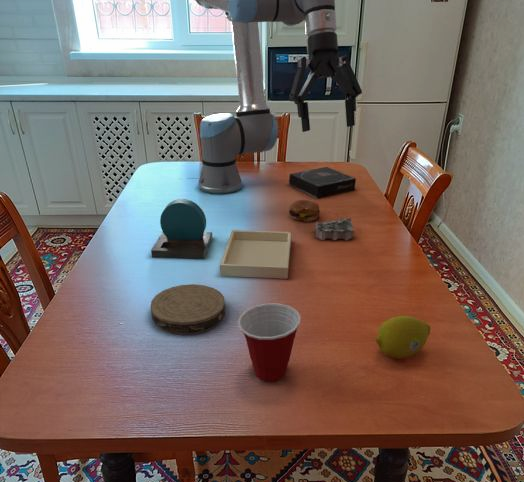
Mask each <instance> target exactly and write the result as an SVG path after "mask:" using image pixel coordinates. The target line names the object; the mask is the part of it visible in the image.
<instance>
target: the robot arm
mask: <svg viewBox="0 0 524 482" xmlns="http://www.w3.org/2000/svg"><path fill="white" fill-rule="evenodd" d="M194 1H195V2H196V3H197V5H199V6H201V7H202V8H205V9H208V10H213V9H214V10H220V11H223V12H224V13H225V19H227V20H228V21H229V22H230V23H231V25H230V26H231V33H232V44H233V53H234V62H235V73H236V82H237V92H238V102H239V107H238V108H237V110H236V112H235V115H236V116H235V115H234V113H229V112H224V113H215V114H211V115H207V116H206V117H204V118H203V119H202V120H201V121H200V125H199V137H200V147H201V161H202V168H201V171H200V175H199V178H198V189H199V190H200V191H202V192H204V193H208V194H214V195H221V194H223V195H224V194H225V195H226V194H230V193H231V194H232V193H235V192H237V191H239V190H241V189H242V187H243V183H242V182H243V180H242V178H241V174H240V172H239V169H238V166H237V156H238V155H239V156H240V155H246V154H247V155H248V154H255V153H261V154H262V153H263V152H268V151H271V150H272V149H273V148H274V147H275V145H276V143H277V140H278V136H279V124H278V120H277V117H276V116H275V115H274V114H272V113H271V107H269V106H268V104H266V100H265V99H266V98H265V85H264V77H263V76H264V75H263V64H262V63H263V62H262V53H261V52H262V51H261V41H260V28H259V23H269V22H270V23H280V22H281V23H282V24H284V25H286V26H288V27H293V26H296V25H299V24H301V23H302V22H304V27H305V29H304V30H305V36H306V37H307V38H306V51H307V52H306V53H307V56H308V58H306V57H305V56H303V57H301V58H298V59H297V61H296V63H297V64H296V73H295V76H294V81H293V84H292V86H291V90H290V94H289V97H288V100H289V102H293V103H294V105H296V107H297V117H298V118H300V120H301V121H300V122H301V131H302V133H305V132H308V131H311V124H310V113H309V112H310V111H309V102H308V101H306V98H307V97H308V95H309V93H310V92H311V89H312V87H313V86H314V84H315V82H316V80H317V79H322V78H324V79H328V78H330V80H333V81H334V82H335V83H336V85H337V87H339V88H340V90H341V92H342V93H343V94H344V95H345V97H346V98H347V99H345V100H344V106H345V119H346V120H345V121H346V128H347V127H349V128H350V127H354V126H356V121H355V120H356V119H355V118H356V117H355V112H356V111H357V100H356V98H357V97H358V96H360V95H361V94H363V90H362V87H361V86H360V83H359V81H358V79H357V77H356V75H355V72H354V70H353V68H352V65H351V62H350V56H349V55H348V54H345V55H343V56H340V57H339V55H338V49H339V41H338V34H337V32H336V31H337V17H336V3H335V2H336V0H194ZM339 67H340V68H339ZM308 68H309V69H310V72H309V74H308V76H307V79H306V81H305V82H304V78H305V75H306V71H307V69H308ZM342 73H343V74H342ZM303 82H304V85H303ZM302 85H303V86H302Z"/></svg>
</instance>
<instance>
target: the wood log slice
mask: <svg viewBox="0 0 524 482" xmlns="http://www.w3.org/2000/svg"><path fill="white" fill-rule="evenodd" d="M150 302H151V303H150V314H151V320H152V322H153V324H154V325H155V327H157V328H158V329H159V330H160V331H163V332H165V333H168V334H171V335H180V336H187V335H189V336H190V335H196V334H197V335H198V334H200V333H205V332H208V331H210V330H212V329H214V328H216V327H218V326H219V325H221V323H222V322H223V321H224V319H225V318H226V316H227V315H226V300H225V296H224V295H223V293H222V292H221V291H220V290H217V289H216V288H214V287H211V286H209V285H203V284H194V283H193V284H180V285H175V286H172V287H169V288H166V289H164V290H162V291H160V292H159V293H157V294H156V295H155V296H153V298H152V300H151V301H150Z"/></svg>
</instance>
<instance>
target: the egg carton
mask: <svg viewBox="0 0 524 482" xmlns="http://www.w3.org/2000/svg"><path fill="white" fill-rule="evenodd" d="M354 232H355V230H354V227H353V221H352V217H345V218H340V220H333V221H323V222H320V221H319V222H318V221H316V222H315V234H316V238H317V239H319V240H321V241H325V240H327V239H331V240H333V241H337V240H339V239H343V240H345V241H349V240H350V239H351V240H352V239H353V236H354Z"/></svg>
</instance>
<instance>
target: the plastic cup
mask: <svg viewBox="0 0 524 482" xmlns="http://www.w3.org/2000/svg"><path fill="white" fill-rule="evenodd" d="M301 317H302V316H301V314H300V312H298V310H297V309H295V308H294V307H292V306H291V305H288V304H284V303H278V302H277V303H276V302H275V303H274V302H273V303H272V302H271V303H270V302H269V303H268V302H267V303H266V302H265V303H262V304H257V305H254V306H252V307H250V308H248V309H245V311H244V312H243V313H241V315H240V316H239V318H238V321H237V325H238V327H239V330H240V331H241V333H243V335H244V338H245V341H246V345H247V349H248V353H249V357H250V361H251V364H252V369H253V371H254V374H255V376H256V378H258V379H259V380H260V381H263V382H266V383H267V382H269V383H273V382H278V381H281V380H282V379H283V378H284V377H285V375H286V373H287V370H288V366H289V362H290V359H291V356H292V350H293V345H294V342H295V338H296V334H297V331H298V328H299V327H300V325H301Z"/></svg>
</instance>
